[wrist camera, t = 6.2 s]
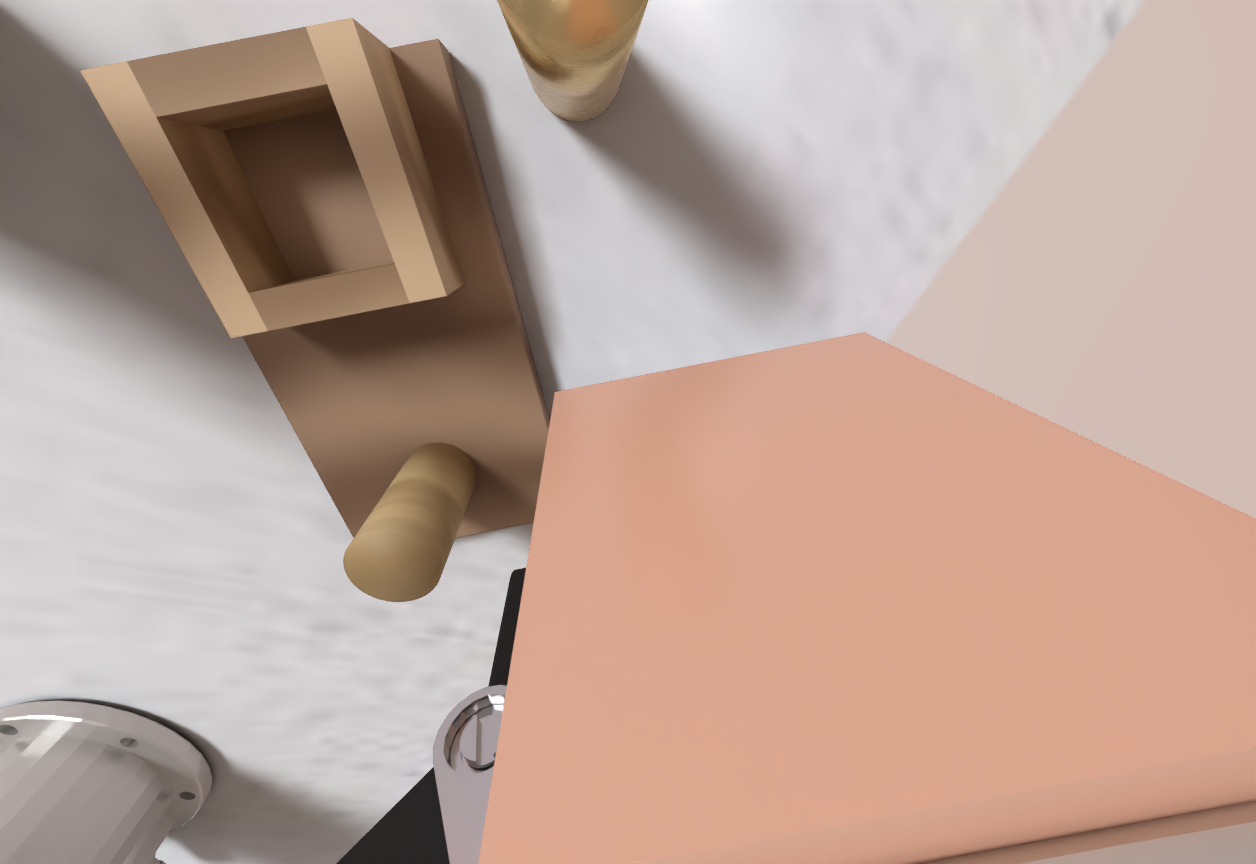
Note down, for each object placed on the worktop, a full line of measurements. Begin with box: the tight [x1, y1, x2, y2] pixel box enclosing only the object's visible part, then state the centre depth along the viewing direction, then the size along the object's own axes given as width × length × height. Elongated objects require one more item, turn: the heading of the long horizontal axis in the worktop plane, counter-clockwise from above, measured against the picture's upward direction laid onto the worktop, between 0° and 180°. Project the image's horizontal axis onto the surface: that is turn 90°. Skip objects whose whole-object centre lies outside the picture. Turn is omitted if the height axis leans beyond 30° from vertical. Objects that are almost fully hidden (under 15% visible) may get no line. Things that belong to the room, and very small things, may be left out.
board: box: [80, 18, 550, 602], centre depth 16 cm, size 18×10×7 cm, turn 10°
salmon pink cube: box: [478, 332, 1256, 864], centre depth 8 cm, size 7×7×8 cm
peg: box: [497, 0, 648, 121], centre depth 12 cm, size 3×3×9 cm
